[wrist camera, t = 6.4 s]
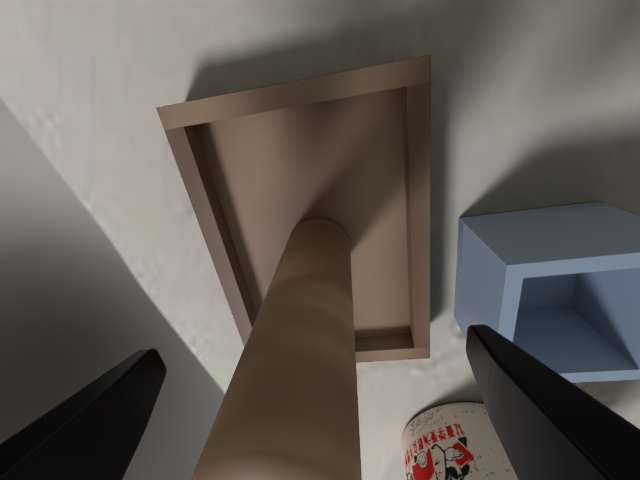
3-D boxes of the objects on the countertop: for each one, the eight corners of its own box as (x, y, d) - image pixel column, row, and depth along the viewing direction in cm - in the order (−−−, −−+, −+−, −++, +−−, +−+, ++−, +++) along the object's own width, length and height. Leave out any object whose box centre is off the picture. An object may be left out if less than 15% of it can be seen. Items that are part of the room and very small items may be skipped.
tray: (416, 62, 11) (430, 54, 10) (420, 331, 17) (429, 358, 15) (182, 106, 13) (156, 107, 11) (261, 342, 18) (252, 368, 17)
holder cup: (600, 200, 13) (715, 245, 9) (571, 307, 16) (651, 379, 12) (458, 217, 14) (507, 265, 10) (454, 316, 17) (490, 386, 13)
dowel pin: (346, 212, 13) (353, 448, 4) (353, 268, 14) (370, 543, 5) (283, 220, 14) (163, 451, 5) (295, 274, 15) (220, 539, 6)
